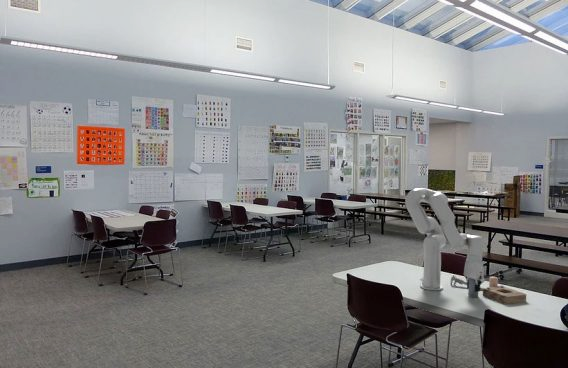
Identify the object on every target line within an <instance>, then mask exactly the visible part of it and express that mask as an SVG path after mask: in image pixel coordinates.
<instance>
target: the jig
mask: <svg viewBox="0 0 568 368" xmlns="http://www.w3.org/2000/svg"><path fill="white" fill-rule="evenodd" d="M482 288H483V291H482V296H484V297H487V298H489V299H492V300H494V301H497V302H500V303H503V304H504V305H511V304H512V305H513V304H517V303H524V302H527V294H526V293H524V292H521V291H518V290H516V289H512V288H509V287H506V286H504V285H498V286H497V287H489V286H487V287H482Z"/></svg>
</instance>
